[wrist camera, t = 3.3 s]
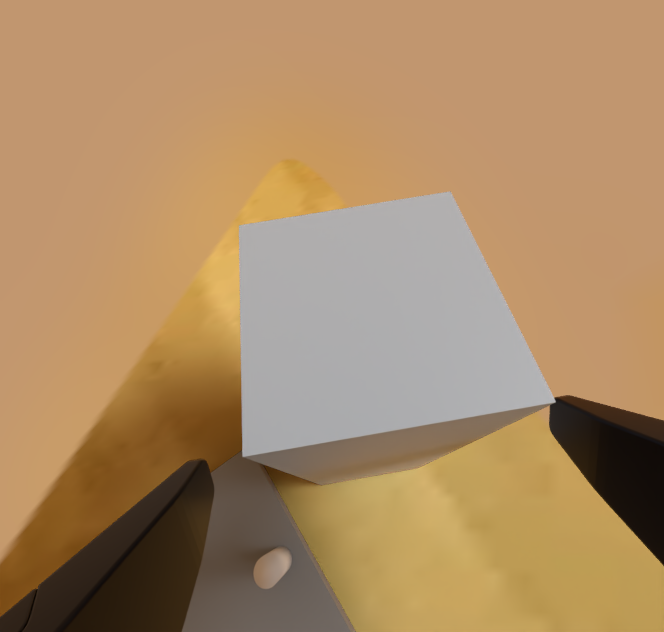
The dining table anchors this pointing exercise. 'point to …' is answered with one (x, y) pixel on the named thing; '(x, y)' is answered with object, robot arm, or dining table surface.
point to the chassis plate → (258, 563)
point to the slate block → (375, 341)
